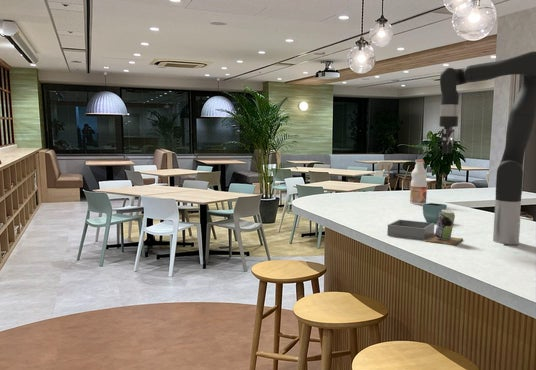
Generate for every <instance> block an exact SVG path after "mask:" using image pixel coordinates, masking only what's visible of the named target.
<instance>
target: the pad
mask: <svg viewBox="0 0 536 370" xmlns="http://www.w3.org/2000/svg"><path fill="white" fill-rule="evenodd" d="M463 240H464V238H463V237H462V238H461V237H453V236H451V238H450V239H448V240H442V239H439V238H437V236H435V234H432V235H431V236H429V237H428V238H426V239H425V241H424V242H426V243H433V244H434V243H435V244H441V245H450V246H458V245H459V244H460V243H461V242H462V241H463Z"/></svg>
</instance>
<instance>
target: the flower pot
mask: <svg viewBox="0 0 536 370" xmlns="http://www.w3.org/2000/svg"><path fill="white" fill-rule="evenodd" d="M421 206H422V214H423V218H424V220H425V222H428V223H434V224H437V222H438V217H439V213H440V212H441V210H447V206H448V205H447V204H445V203H444V204H443V203H436V202H435V203H434V202H429V203H427V202H426V204H422V205H421Z"/></svg>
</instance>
